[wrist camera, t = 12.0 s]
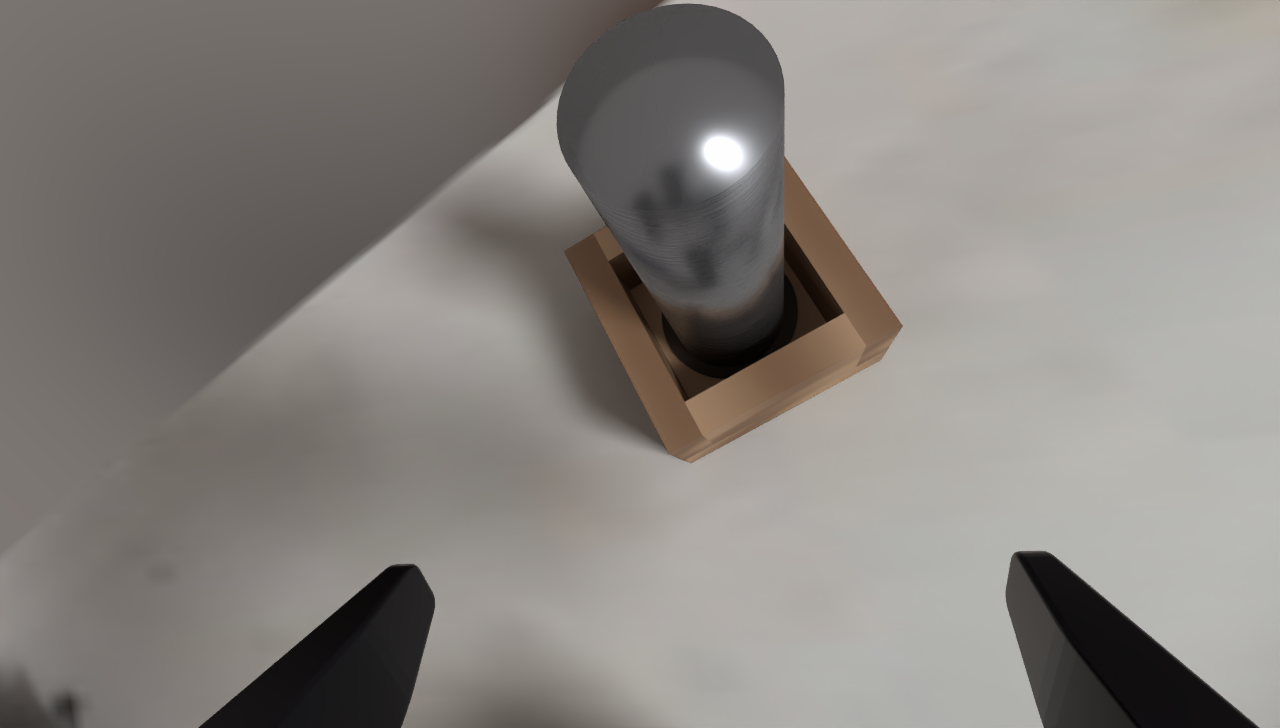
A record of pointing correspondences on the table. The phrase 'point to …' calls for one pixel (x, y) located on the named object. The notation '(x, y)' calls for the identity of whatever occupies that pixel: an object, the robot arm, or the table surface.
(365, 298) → the table surface
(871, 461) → the table surface
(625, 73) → the pin
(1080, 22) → the table surface
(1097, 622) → the robot arm
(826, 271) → the socket block
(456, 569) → the table surface
